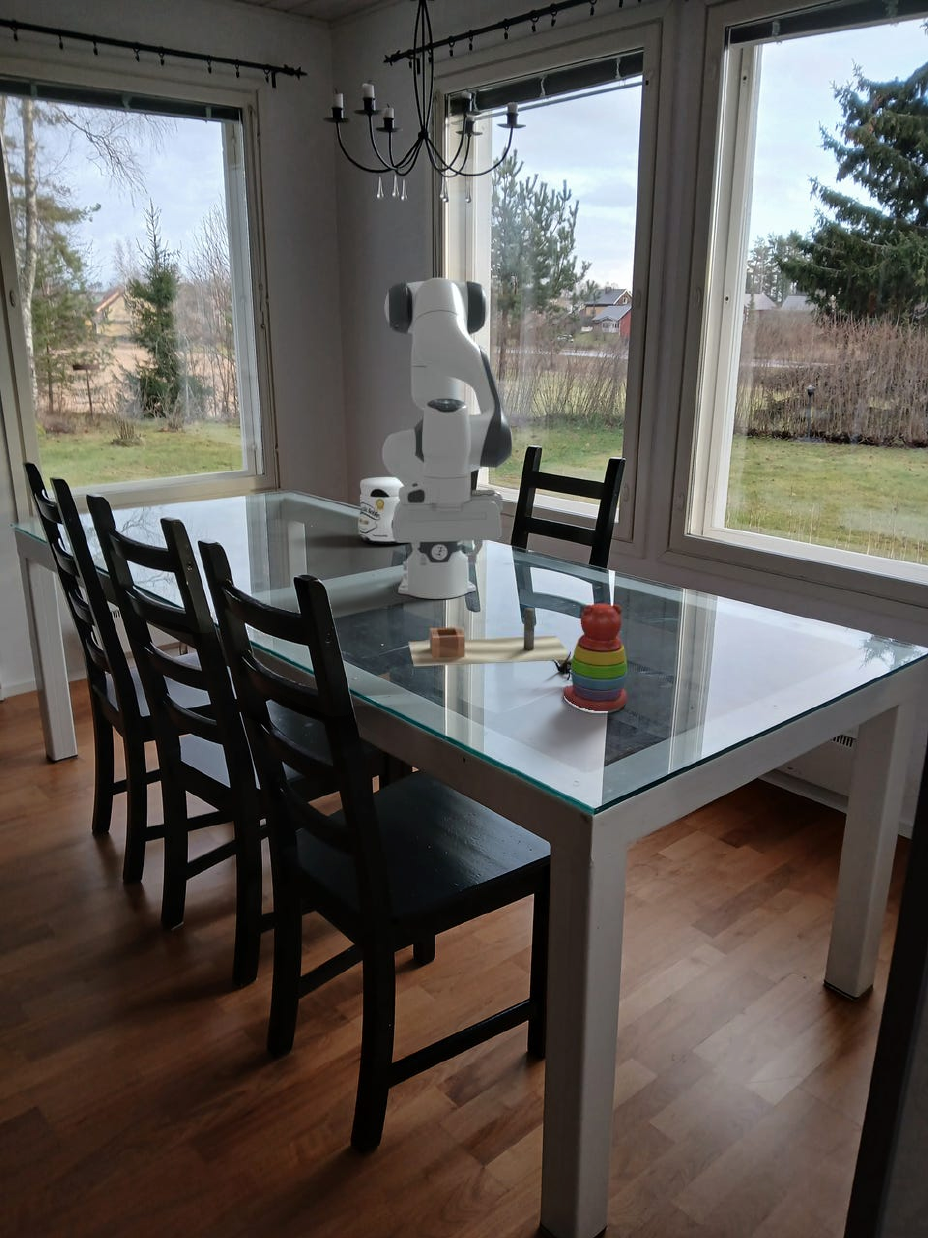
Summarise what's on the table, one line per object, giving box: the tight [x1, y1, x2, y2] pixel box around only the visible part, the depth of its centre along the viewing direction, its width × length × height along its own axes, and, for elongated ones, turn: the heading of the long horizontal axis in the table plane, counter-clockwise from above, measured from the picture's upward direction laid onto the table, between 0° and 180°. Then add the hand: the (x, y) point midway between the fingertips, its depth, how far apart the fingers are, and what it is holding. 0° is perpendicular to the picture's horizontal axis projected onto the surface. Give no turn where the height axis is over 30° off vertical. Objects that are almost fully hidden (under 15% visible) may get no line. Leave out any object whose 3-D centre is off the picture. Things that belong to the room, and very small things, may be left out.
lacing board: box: [407, 607, 573, 667], centre depth 182 cm, size 14×30×10 cm, turn 97°
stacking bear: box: [563, 603, 628, 711], centre depth 159 cm, size 11×10×18 cm
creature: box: [550, 651, 572, 688], centre depth 169 cm, size 8×5×8 cm
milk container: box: [357, 476, 404, 545], centre depth 278 cm, size 17×17×18 cm
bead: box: [429, 626, 466, 658], centre depth 181 cm, size 6×6×4 cm
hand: (447, 563), depth 176 cm, fingers open, 8 cm apart
